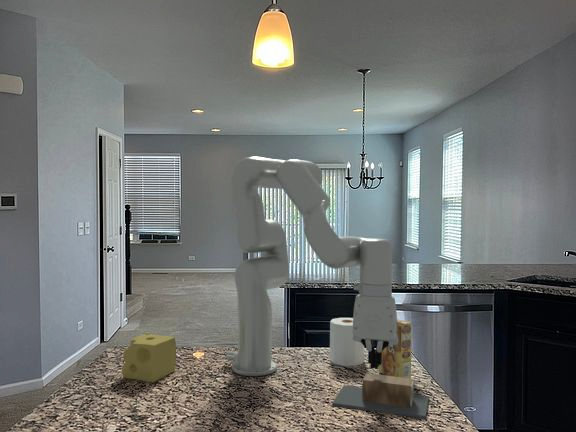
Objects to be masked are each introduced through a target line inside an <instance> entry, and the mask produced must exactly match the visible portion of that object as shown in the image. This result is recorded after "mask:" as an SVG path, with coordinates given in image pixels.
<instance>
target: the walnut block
mask: <svg viewBox="0 0 576 432" xmlns="http://www.w3.org/2000/svg"><path fill="white" fill-rule="evenodd" d="M361 385H362V387H361V388H362V401H366V402H373V403H380V404H388V405H395V406H402V407H409V408H410V407H411V406H412V402H413V394H414V379H413V378H402V377H394V376H388V375H385V374H377V373H370V372H369V373H368V372H367V373H365V375H364V377H363V378H362V384H361Z"/></svg>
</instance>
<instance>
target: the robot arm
mask: <svg viewBox="0 0 576 432" xmlns="http://www.w3.org/2000/svg"><path fill="white" fill-rule="evenodd" d="M323 179H324V178H323V171H322V169H321V168H320V167H319V165H317V164H316V163H315V162H312V161H309V160H303V159H301V160H300V159H295V158H294V159H286V160H283V159H274V158H269V157H268V158H267V157H263V156H248V157H243V158H241V159H240V160H239V161H237V162H236V163H235V165H234V166H233V168H232V170H231V173H230V176H229V190H230V195H231V197H232V198H231V199H232V204H233V213H234V214H233V215H234V225H235V236H236V237H235V238H236V243H237V246H238V248H239V250H240V251H241V252H243V253H245V254H259V253H260V255H261V256H257V257H251V258H247V259H243V260H242V261H241V262H240V263H239V264H238V265H237V266H236V268H235V272H234V282H235V289H236V294H237V295H236V296H237V351H236V352H235V351H230V350H227V351H226V352H225V360H227V361H232V362H234V363H233V364H232V365H231V367H232V368H231V369H232V371H233V373H236V374H237V375H240V376H246V377H261V376H267V375H270V374H273V373H275V371H277V363H276V362H274V361H273V360H272V323H273V322H272V319H273V318H272V316H273V315H272V314H273V313H272V309H273V308H272V301H271V298H270V296H269V294H268V290H271V289H272V290H273V289H276V288H280V287H282V286H284V285H285V284H286V283H287V281H288V278H289V275H290V262H289V253H288V245H287V243H288V242H287V236H286V232H285V230H284V228H283V226H282V225H281V224H280V223H279V221H276V220H274V219H266V217H265V211H264V202H263V200H262V197H261V195H260V193H259V192H258V188H263V189H274V190H275V189H276V190H283V191H284V193H285V194H286V196H287V197H288V199H289V200H290V201H291V203H292V204H293V205H294V207H295V208H296V210H297V211H298V212H299V215H300V216H301V217H302V226H303V230H304V235H305V239H306V241H307V243H308V245H309V246H310V247H311V249H312V251H313V252H314V253H315V255H316V256H317V258H318V259H319V260H320V261H321V262H322V263H323V264H324V265H325V266H326V267H328V268H330V269H334V270H340V269H344V268H352V267H357V266H358V267H359V283H357V284H356V283H354V284H353V290H354V291H357V292H358V294H357V295H355V300H354V306H353V313H352V314H353V316H352V318H353V340H354V341H357V342H359V343H362V344H363V345H364V349H366V351H367V363H368V365H369V364H370V369H375V370H379V365H381V363H382V350H383V349H385V348H386V347H387V346H389V345H396V344H397V343H398V338H397V319H398V316H397V315H398V314H397V304H396V299H395V296H394V295H392V292H393V291H392V290H393V289H392V288H393V284H392V283H393V243H392V241H390V240H389V239H386V238H377V237H376V238H375V237H374V238H373V237H372V238H371V237H370V238H364V237H360V236H354V235H353V236H352V235H349V236H339V235H338V234H337V233H336V231H335V230H334V229H333V228H332V226H331V225H330V223H329V221H328V220H327V216H326V211H327V210H328V209H329V207H330V204H331V199H330V197H329V195H328V194H327V193H326V191H325V190H324V189H323V188H322V183H323ZM374 341H377V345H376V347H375V346H374Z"/></svg>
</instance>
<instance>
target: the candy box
mask: <svg viewBox="0 0 576 432" xmlns="http://www.w3.org/2000/svg"><path fill="white" fill-rule="evenodd" d="M397 338H398V343H397V344H396V345H389V346H387V347H386V348H385V349H383V350H382V363H381V365H379V367H378V372H379V373H381V374H382V375H386V376H394V377H402V378H410V379H412V322H409V321H405V320H402V319H398V318H397Z"/></svg>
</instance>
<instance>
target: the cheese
mask: <svg viewBox="0 0 576 432" xmlns="http://www.w3.org/2000/svg"><path fill="white" fill-rule="evenodd" d="M130 340H131V341H130V345H129V347H127V348H125V349H124V351H123V354H122V355H123V357H122V359H123V360H124V363H123V365H122V368H121V375H122V378H123V379H131V380H137V381H138V380H139V381H143V382H146V383H151V384H152V383H155V382H157V381H159V380H160V379H162V378H165V377H166V376H168V375H170V374H172V373H174V372H175V371H176V362H177V344H176V338H175V337H174V336H168V335H159V334H151V333H145V334H142V335H141V334H140V335H138V336H136V337H133V338H132V339H130Z"/></svg>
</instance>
